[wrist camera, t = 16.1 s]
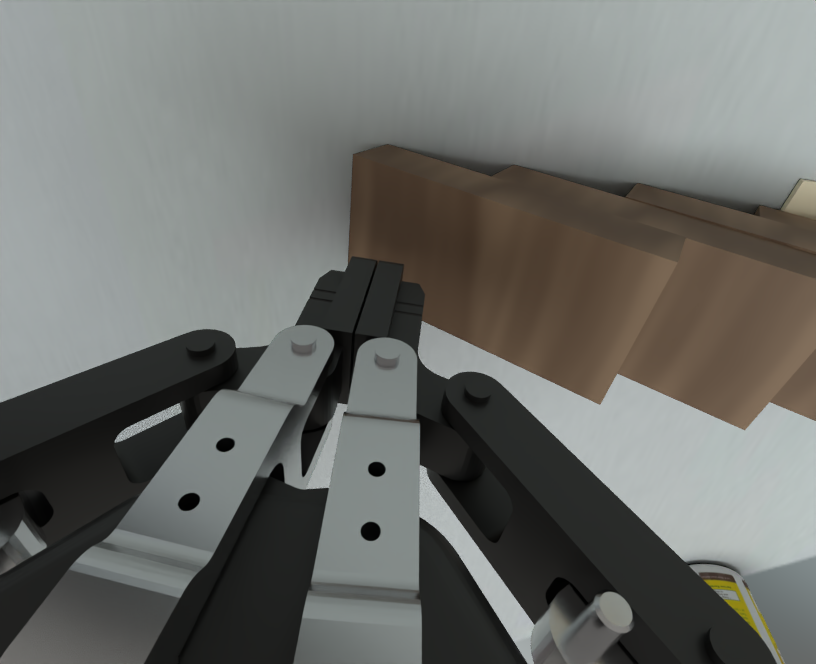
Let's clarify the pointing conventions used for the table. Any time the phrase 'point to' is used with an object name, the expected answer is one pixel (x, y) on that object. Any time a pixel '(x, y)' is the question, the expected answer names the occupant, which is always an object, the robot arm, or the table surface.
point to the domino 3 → (812, 383)
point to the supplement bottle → (738, 600)
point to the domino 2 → (712, 309)
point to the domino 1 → (513, 264)
